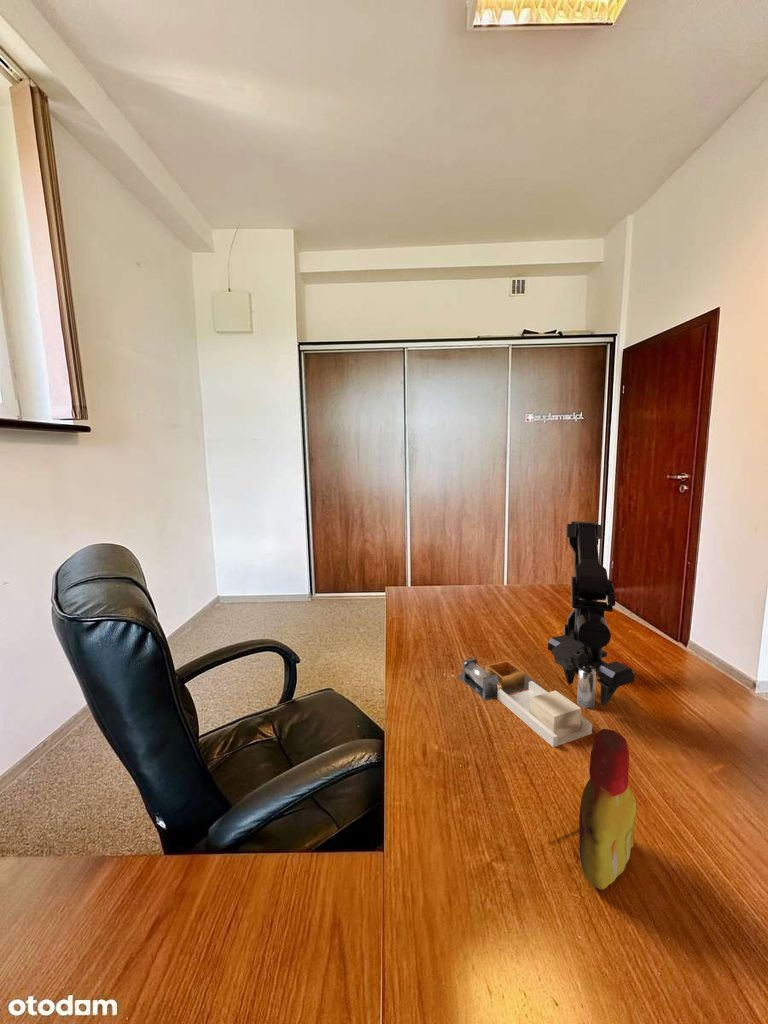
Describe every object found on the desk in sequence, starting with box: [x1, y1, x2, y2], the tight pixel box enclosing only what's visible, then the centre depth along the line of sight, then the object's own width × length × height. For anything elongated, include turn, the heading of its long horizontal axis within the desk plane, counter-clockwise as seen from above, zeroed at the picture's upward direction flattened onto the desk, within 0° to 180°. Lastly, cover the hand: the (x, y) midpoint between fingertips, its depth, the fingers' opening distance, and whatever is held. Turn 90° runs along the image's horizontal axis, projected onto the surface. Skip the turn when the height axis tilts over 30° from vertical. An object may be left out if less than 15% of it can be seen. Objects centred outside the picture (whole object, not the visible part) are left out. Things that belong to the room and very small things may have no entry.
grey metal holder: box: [457, 657, 541, 701], centre depth 103 cm, size 16×12×5 cm
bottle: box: [578, 728, 637, 890], centre depth 56 cm, size 12×6×20 cm, turn 134°
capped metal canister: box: [576, 664, 597, 709], centre depth 92 cm, size 4×4×10 cm
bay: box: [497, 681, 593, 748], centre depth 89 cm, size 10×18×2 cm, turn 21°
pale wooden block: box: [529, 689, 582, 739], centre depth 86 cm, size 7×8×5 cm
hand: (586, 694), depth 92 cm, fingers open, 9 cm apart
